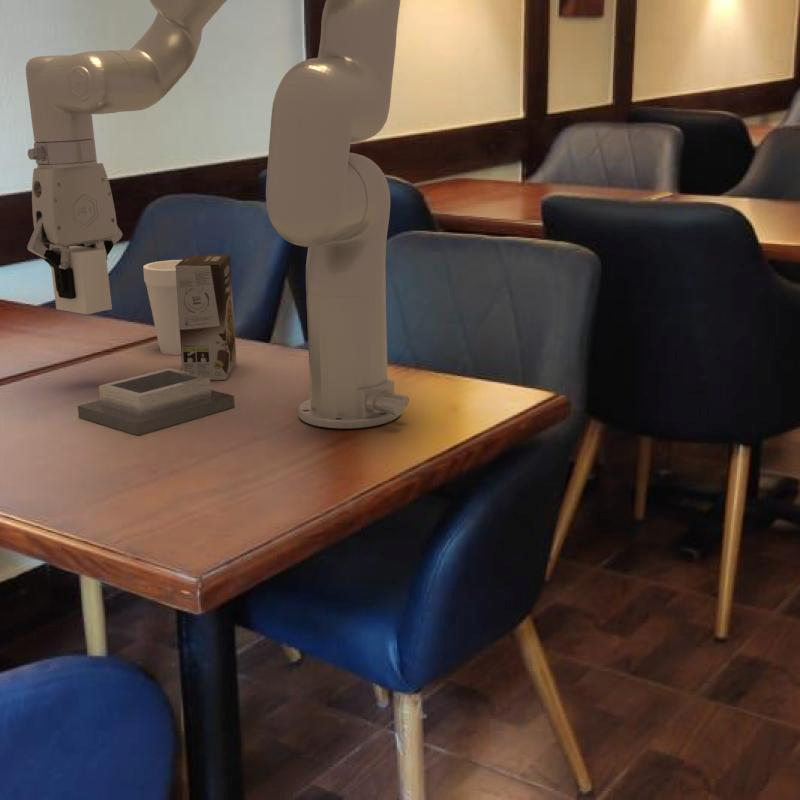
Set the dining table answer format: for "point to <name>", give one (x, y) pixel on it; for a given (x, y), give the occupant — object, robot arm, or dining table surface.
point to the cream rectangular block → (87, 281)
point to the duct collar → (155, 401)
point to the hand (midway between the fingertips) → (82, 293)
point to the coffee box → (206, 315)
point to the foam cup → (164, 303)
